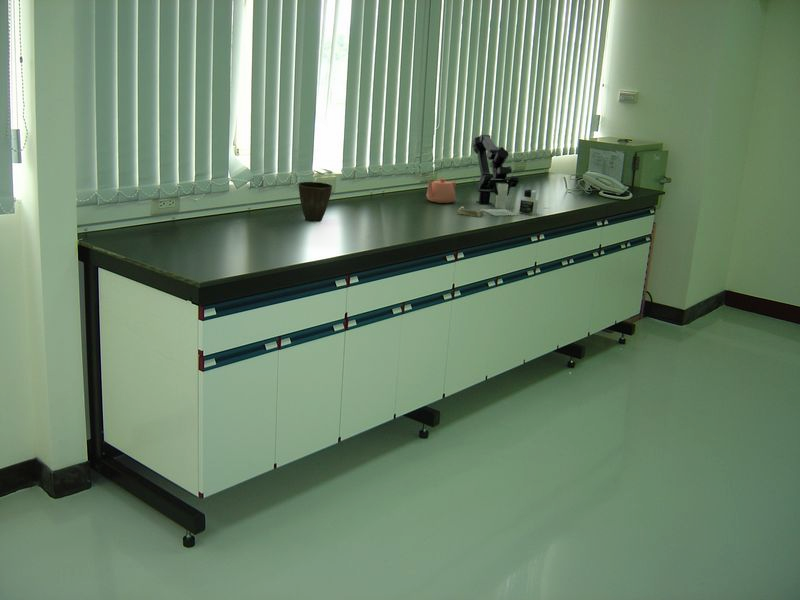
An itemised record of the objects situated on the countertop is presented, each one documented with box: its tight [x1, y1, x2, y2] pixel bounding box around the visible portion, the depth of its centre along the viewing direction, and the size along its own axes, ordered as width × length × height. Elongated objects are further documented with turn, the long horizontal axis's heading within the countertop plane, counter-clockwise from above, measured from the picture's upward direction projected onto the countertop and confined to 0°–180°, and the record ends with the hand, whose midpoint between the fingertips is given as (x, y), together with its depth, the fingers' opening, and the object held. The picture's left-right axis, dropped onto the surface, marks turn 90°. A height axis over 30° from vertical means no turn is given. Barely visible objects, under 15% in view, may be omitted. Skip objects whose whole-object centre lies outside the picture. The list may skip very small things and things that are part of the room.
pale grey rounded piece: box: [494, 183, 508, 209], centre depth 429 cm, size 8×5×12 cm
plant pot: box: [298, 181, 333, 222], centre depth 380 cm, size 15×15×16 cm
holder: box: [457, 206, 484, 217], centre depth 423 cm, size 8×11×2 cm
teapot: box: [426, 177, 457, 204], centre depth 449 cm, size 22×15×12 cm
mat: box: [482, 208, 519, 217], centre depth 432 cm, size 14×14×1 cm
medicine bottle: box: [518, 189, 539, 216], centre depth 436 cm, size 7×7×12 cm
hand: (502, 195), depth 428 cm, fingers closed on pale grey rounded piece, 5 cm apart
